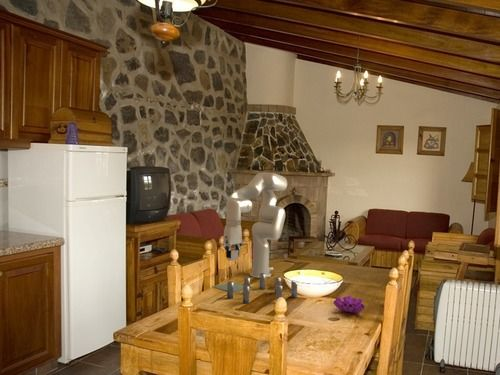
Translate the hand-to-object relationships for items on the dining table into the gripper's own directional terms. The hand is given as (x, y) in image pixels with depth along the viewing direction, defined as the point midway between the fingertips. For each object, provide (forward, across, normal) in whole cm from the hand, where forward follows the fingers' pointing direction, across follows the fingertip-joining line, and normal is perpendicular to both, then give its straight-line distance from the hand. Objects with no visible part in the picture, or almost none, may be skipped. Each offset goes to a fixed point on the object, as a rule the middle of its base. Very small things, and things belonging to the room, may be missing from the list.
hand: (232, 256), depth 246 cm
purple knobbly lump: (+17, -11, +64) cm, 67 cm away
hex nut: (+1, 0, 0) cm, 1 cm away
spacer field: (+17, +2, +23) cm, 29 cm away
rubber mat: (+17, 0, 0) cm, 17 cm away
